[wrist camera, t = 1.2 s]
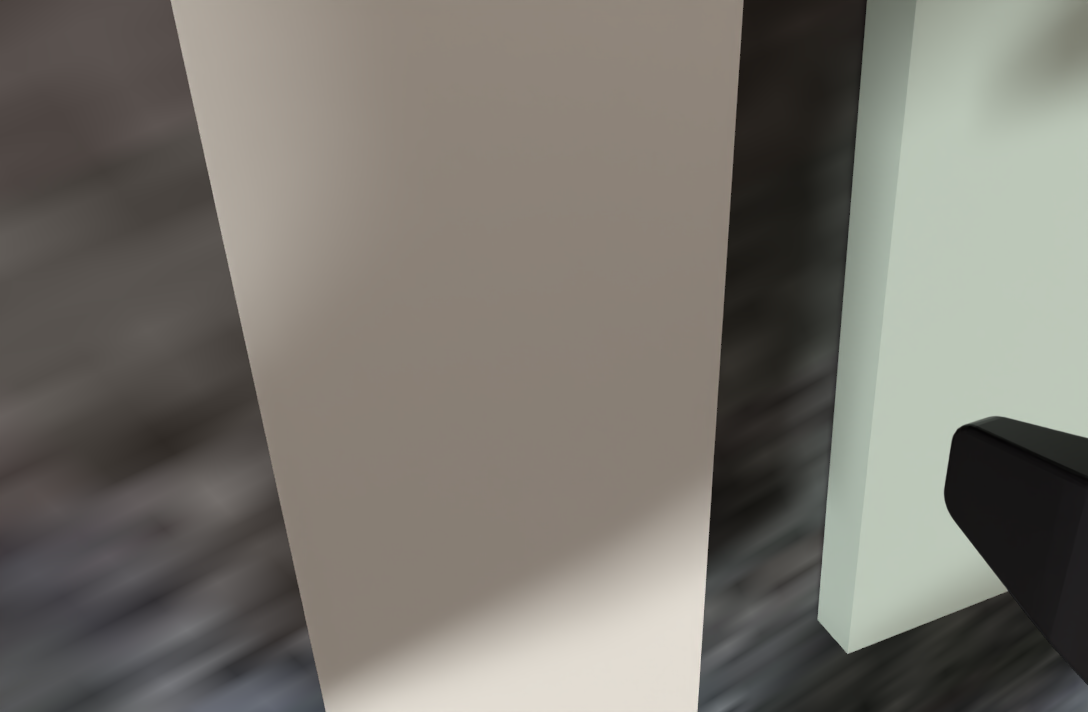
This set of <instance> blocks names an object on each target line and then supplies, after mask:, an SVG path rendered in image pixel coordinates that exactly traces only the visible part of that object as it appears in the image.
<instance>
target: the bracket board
mask: <svg viewBox="0 0 1088 712" xmlns="http://www.w3.org/2000/svg"><path fill="white" fill-rule="evenodd" d="M990 416H1002V417H1007V418H1011V419H1015V420H1019V421H1023V422H1027V423H1031V424H1035V425H1039V426H1042V427H1046V428H1050V429H1054V430H1058V431H1062V432H1066V433H1070V434H1074V435H1078V436H1082V437H1086V438H1088V0H867V8H866V21H865V33H864V46H863V58H862V71H861V83H860V96H859V108H858V121H857V133H856V146H855V158H854V171H853V183H852V195H851V208H850V220H849V233H848V245H847V258H846V270H845V283H844V295H843V308H842V320H841V333H840V345H839V358H838V370H837V383H836V395H835V408H834V420H833V433H832V445H831V458H830V470H829V483H828V495H827V508H826V520H825V533H824V545H823V558H822V570H821V583H820V595H819V608H818V621H819V622H820V623H821V624H822V625H823V626H824V628H825V629H826V630H827V631H828V632H829V633H830V634H831V636H832V637H833V638H834V639H835V640H836V641H837V642H838V644H839V645H840V646H841V647H842V648H843V649H844V650H845V651H846V653H847V654H849V653H851V652H854V651H856V650H859V649H862V648H864V647H867V646H869V645H872V644H874V643H877V642H879V641H882V640H884V639H887V638H890V637H892V636H895V635H897V634H900V633H902V632H905V631H907V630H910V629H913V628H915V627H918V626H920V625H923V624H925V623H928V622H930V621H933V620H935V619H938V618H941V617H943V616H946V615H948V614H951V613H953V612H956V611H958V610H961V609H963V608H966V607H969V606H971V605H974V604H976V603H979V602H981V601H984V600H986V599H989V598H992V597H994V596H997V595H999V594H1002V593H1004V592H1007V591H1008V590H1007V589H1006V587H1005V586H1004V585H1003V584H1002V582H1001V581H1000V580H999V578H998V577H997V576H996V574H995V573H994V572H993V571H992V569H991V568H990V567H989V565H988V564H987V563H986V562H985V560H984V559H983V558H982V556H981V555H980V554H979V552H978V551H977V550H976V549H975V547H974V546H973V545H972V543H971V542H970V541H969V540H968V538H967V537H966V536H965V534H964V533H963V532H962V530H961V529H960V528H959V527H958V525H957V524H956V523H955V521H954V520H953V519H952V517H951V516H950V514H949V512H948V510H947V507H946V504H945V501H944V486H945V479H946V473H947V466H948V460H949V453H950V447H951V441H952V437H953V435H954V433H955V432H956V430H957V429H958V428H959V427H961V426H962V425H965V424H968V423H971V422H974V421H977V420H980V419H983V418H986V417H990Z"/></svg>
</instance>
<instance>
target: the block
mask: <svg viewBox="0 0 1088 712" xmlns="http://www.w3.org/2000/svg"><path fill="white" fill-rule="evenodd" d="M171 4H172V8H173V13H174V18H175V22H176V27H177V31H178V36H179V41H180V45H181V50H182V54H183V59H184V63H185V68H186V73H187V77H188V82H189V86H190V91H191V96H192V100H193V105H194V109H195V114H196V118H197V123H198V128H199V132H200V137H201V141H202V146H203V151H204V155H205V160H206V164H207V169H208V173H209V178H210V183H211V187H212V192H213V196H214V201H215V205H216V210H217V215H218V219H219V224H220V228H221V233H222V238H223V242H224V247H225V251H226V256H227V260H228V265H229V270H230V274H231V279H232V283H233V288H234V293H235V297H236V302H237V306H238V311H239V315H240V320H241V325H242V329H243V334H244V338H245V343H246V348H247V352H248V357H249V361H250V366H251V370H252V375H253V380H254V384H255V389H256V393H257V398H258V403H259V407H260V412H261V416H262V421H263V425H264V430H265V435H266V439H267V444H268V448H269V453H270V458H271V462H272V467H273V471H274V476H275V480H276V485H277V490H278V494H279V499H280V503H281V508H282V513H283V517H284V522H285V526H286V531H287V535H288V540H289V545H290V549H291V554H292V558H293V563H294V568H295V572H296V577H297V581H298V586H299V590H300V595H301V600H302V604H303V609H304V613H305V618H306V622H307V627H308V632H309V636H310V641H311V645H312V650H313V655H314V659H315V664H316V668H317V673H318V677H319V682H320V687H321V691H322V696H323V700H324V705H325V710H326V712H697V708H698V693H699V677H700V662H701V647H702V631H703V616H704V600H705V585H706V570H707V554H708V539H709V523H710V508H711V493H712V477H713V462H714V446H715V431H716V416H717V400H718V385H719V369H720V354H721V339H722V323H723V308H724V293H725V277H726V262H727V246H728V231H729V216H730V200H731V185H732V169H733V154H734V139H735V123H736V108H737V92H738V77H739V62H740V46H741V31H742V15H743V0H171Z"/></svg>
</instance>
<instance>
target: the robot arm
mask: <svg viewBox="0 0 1088 712" xmlns="http://www.w3.org/2000/svg"><path fill="white" fill-rule="evenodd" d="M944 501H945V504H946V507H947V510H948V512H949V514H950V516H951V517H952V519H953V520H954V521H955V523H956V524H957V525H958V527H959V528H960V529H961V530H962V532H963V533H964V534H965V536H966V537H967V538H968V540H969V541H970V542H971V543H972V545H973V546H974V547H975V549H976V550H977V551H978V552H979V554H980V555H981V556H982V558H983V559H984V560H985V562H986V563H987V564H988V565H989V567H990V568H991V569H992V571H993V572H994V573H995V574H996V576H997V577H998V578H999V580H1000V581H1001V582H1002V584H1003V585H1004V586H1005V587H1006V589H1007V590H1008V591H1009V593H1010V594H1011V595H1012V596H1013V598H1014V599H1015V600H1016V602H1017V603H1018V604H1019V606H1020V607H1021V608H1022V609H1023V611H1024V612H1025V613H1026V615H1027V616H1028V617H1029V618H1030V620H1031V621H1032V622H1033V624H1034V625H1035V626H1036V627H1037V628H1038V630H1039V631H1040V632H1041V633H1042V635H1043V636H1044V637H1045V638H1046V640H1047V641H1048V642H1049V643H1050V644H1051V645H1052V647H1053V648H1054V649H1055V650H1056V651H1057V652H1058V653H1059V654H1060V656H1061V657H1062V658H1063V659H1064V660H1065V661H1066V662H1067V663H1068V664H1069V666H1070V667H1071V668H1072V669H1073V670H1074V671H1075V672H1076V673H1077V674H1078V675H1079V676H1080V677H1081V678H1082V679H1083V681H1084V682H1085V683H1086V684H1087V685H1088V438H1086V437H1082V436H1078V435H1074V434H1070V433H1066V432H1062V431H1058V430H1054V429H1050V428H1046V427H1042V426H1039V425H1035V424H1031V423H1027V422H1023V421H1019V420H1015V419H1011V418H1007V417H1002V416H990V417H986V418H983V419H980V420H977V421H974V422H971V423H968V424H965V425H962V426H961V427H959V428H958V429H957V430H956V432H955V433H954V435H953V437H952V441H951V447H950V453H949V460H948V466H947V473H946V479H945V486H944Z"/></svg>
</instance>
